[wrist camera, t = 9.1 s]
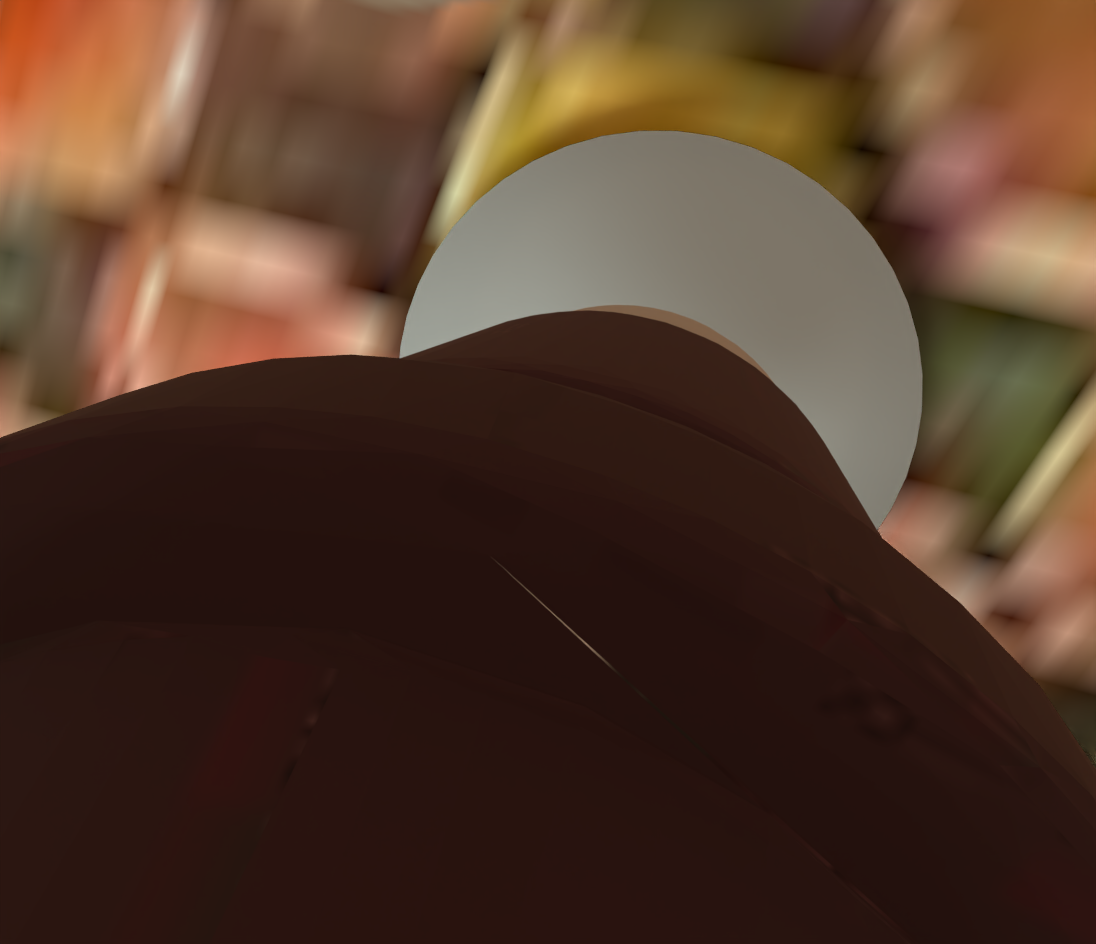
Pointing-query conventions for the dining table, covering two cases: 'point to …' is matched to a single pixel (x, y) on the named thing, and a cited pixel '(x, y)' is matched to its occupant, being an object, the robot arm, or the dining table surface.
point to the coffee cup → (503, 668)
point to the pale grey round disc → (700, 278)
